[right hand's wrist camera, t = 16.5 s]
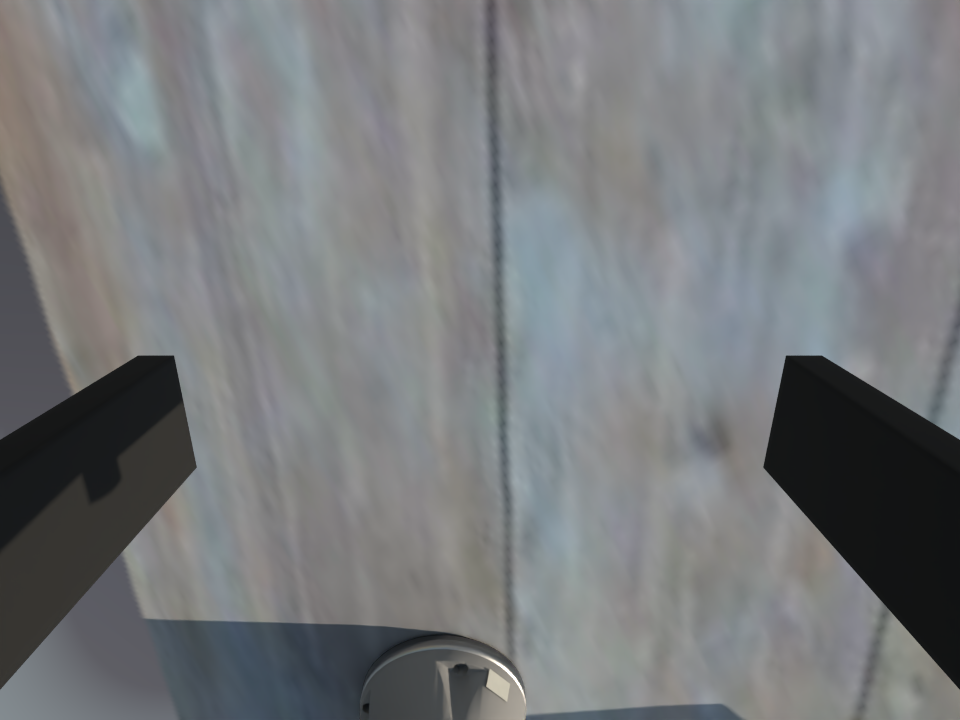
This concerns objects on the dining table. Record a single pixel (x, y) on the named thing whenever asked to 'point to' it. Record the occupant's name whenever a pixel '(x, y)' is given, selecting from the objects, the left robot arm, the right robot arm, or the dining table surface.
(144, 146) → the dining table surface
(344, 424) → the dining table surface
